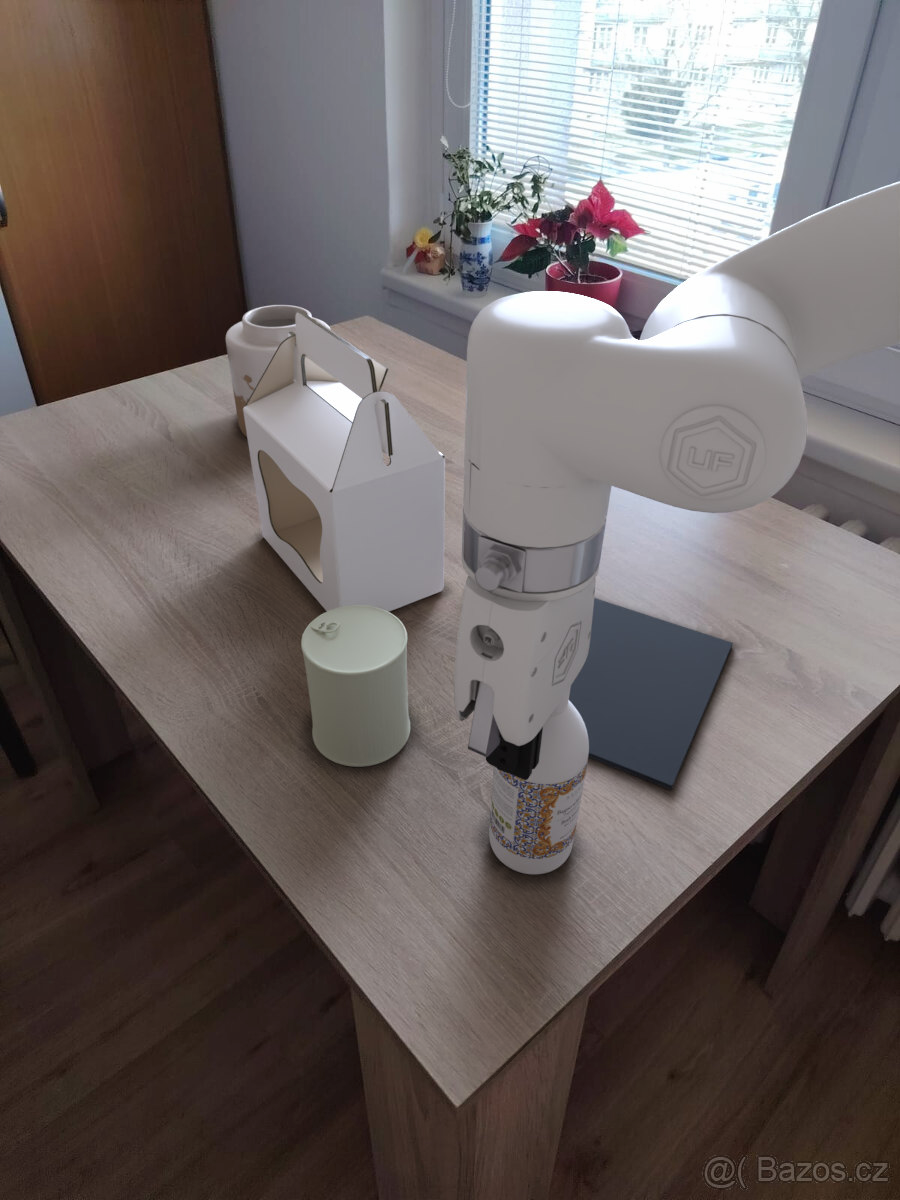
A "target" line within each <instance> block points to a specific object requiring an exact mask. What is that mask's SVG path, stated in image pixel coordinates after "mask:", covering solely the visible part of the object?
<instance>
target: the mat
mask: <svg viewBox="0 0 900 1200" xmlns="http://www.w3.org/2000/svg"><path fill="white" fill-rule="evenodd" d="M733 645H734V643H733V642H731V641H729V640H726V639H723V638H720V637H716V636H713V635H710V634H707V633H704V632H701V631H698V630H694V629H692V628H689V627H685V626H683V625H679V624H677V623H674V622H671V621H667V620H664V619H661V618H657V617H654V616H651V615H649V614H645V613H643V612H640V611H636V610H634V609H630V608H627V607H624V606H621V605H618V604H614V603H612V602H609V601H606V600H603V599H600V598H596V597H594V606H593V617H592V627H591V637H590V645H589V652H588V655H587V658H586V661H585V663H584V665H583V667H582V669H581V670H580V672H579V674H578V675H577V677H576V678H575V680H574V681H573V683H572V684H571V688H570V694H569V701H570V702H571V703H572V704H573V705H574V707H575V708H576V709H577V711H578V712H579V714H580V715H581V717H582V719H583V721H584V723H585V726H586V729H587V734H588V740H589V757H588V758H590V759H593V760H595V761H597V762H600V763H603V764H605V765H607V766H610V767H613V768H615V769H618V770H620V771H623V772H625V773H628V774H630V775H633V776H635V777H638V778H640V779H643V780H644V781H647V782H650V783H653V784H655V785H657V786H659V787H662V788H665V789H667V790H670V791H671V790H673V787H674V785H675V782H676V780H677V777H678V776H679V773H680V771H681V768H682V767H683V764H684V761H685V758H686V757H687V754H688V753H689V752H688V751H689V749H690V747H691V744H692V742H693V740H694V738H695V735H696V733H697V730H698V728H699V727H700V723H701V721H702V718H703V717H704V714H705V711H706V709H707V707H708V704H709V702H710V700H711V698H712V695H713V693H714V690H715V688H716V685H717V683H718V681H719V678H720V676H721V673H722V671H723V669H724V667H725V664H726V662H727V659H728V657H729V655H730V653H731V650H732V648H733Z"/></svg>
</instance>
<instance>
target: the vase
mask: <svg viewBox="0 0 900 1200" xmlns="http://www.w3.org/2000/svg"><path fill="white" fill-rule="evenodd" d="M297 312H304V313H305V314H306V315H308V316H309V317H311V318H314V319H316V320H317V321H319V322H320V323H322V324H323V325H325V326H326V327H327V328H329V329H330V330H332V329H331V327H330V325H328V323H326V322H325V321H323V320H322V319H319V318H317V317H313V316H312V313H311V311H309V310H308V309H306V308H303V307H302V306H298V305H297V306H296V305H289V304H271V305H270V304H269V305H265V306H260V307H255V308H253V309H251V310H250V309H249V311H247V312H245V313H244V314H243V316H242V319H241V321H238V322H237V323H235V324H233V325H232V326H231V327H229V328H228V330H227V332H226V334H225V346H226V347H225V348H226V354H227V359H228V367H229V371H230V379H231V384H232V391H233V398H234V405H235V409H236V415H237V416H236V418H237V422H238V426H239V429H240V432H241V433H242V434H243V436H245V437H246V438H247V432H246V425H245V419H244V412H243V408H244V407H245V405H246V403H247V401H248V400H249V398H250V396H251V394H252V393H253V391H254V389H255V387H256V385H257V384H258V382H259V380H260V378H261V377H262V375H263V373H264V371H265V370H266V368H267V366H268V364H269V362H270V361H271V359H272V357H273V355H274V354H275V352H276V350H277V348H278V347H279V345H280V344H281V343H282V342H283V341H284V340H285V339H286V338H288V332H293V333H295V334H296V324H295V316H296V313H297ZM295 382H297V381H296V380H295V379H294V383H295Z"/></svg>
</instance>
